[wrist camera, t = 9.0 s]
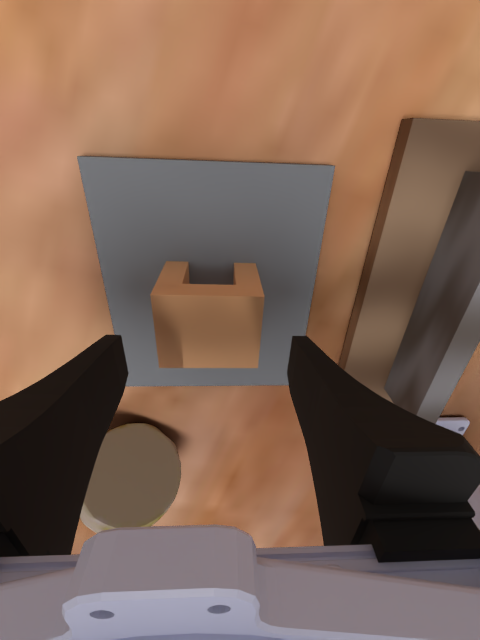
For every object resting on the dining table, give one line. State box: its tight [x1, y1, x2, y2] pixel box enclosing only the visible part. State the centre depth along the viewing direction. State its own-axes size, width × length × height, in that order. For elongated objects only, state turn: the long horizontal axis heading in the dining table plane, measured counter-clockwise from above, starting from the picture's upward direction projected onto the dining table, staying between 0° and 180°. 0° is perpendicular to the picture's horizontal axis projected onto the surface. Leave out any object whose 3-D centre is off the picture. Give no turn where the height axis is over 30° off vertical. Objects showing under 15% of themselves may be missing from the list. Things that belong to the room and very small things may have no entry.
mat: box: [77, 156, 335, 386], centre depth 18 cm, size 14×12×1 cm
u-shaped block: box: [150, 261, 265, 368], centre depth 16 cm, size 4×5×4 cm
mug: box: [79, 423, 181, 533], centre depth 23 cm, size 8×10×10 cm
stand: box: [339, 118, 480, 424], centre depth 17 cm, size 18×8×4 cm, turn 178°
